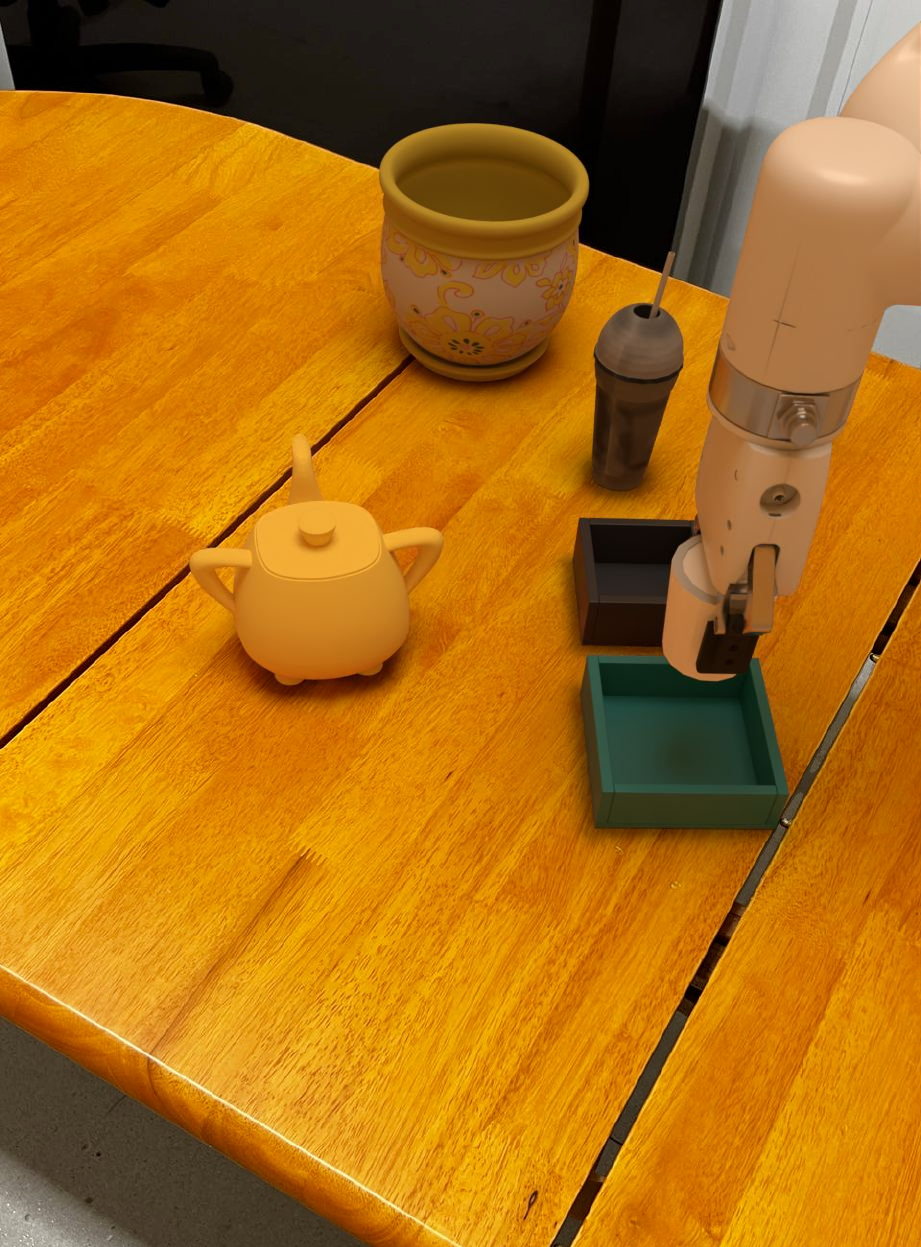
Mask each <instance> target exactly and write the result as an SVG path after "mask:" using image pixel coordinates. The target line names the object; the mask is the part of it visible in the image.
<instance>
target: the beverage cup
mask: <svg viewBox="0 0 921 1247" xmlns="http://www.w3.org/2000/svg"><path fill="white" fill-rule="evenodd" d="M675 257H676V253H675V252H674V251H669V252H668V253H667V256H666V260H665V263H664V267H663V270H662V273H661V276H660V280H659V283H658V286H657V290H656V293H655V297H654V301H653V303H650V302H635V303H631V304H628V305H626V306H624V307H622V308H620V309H619V310H617V311H616V312H614V313H613V314H612V315H611V317H609V319H608V320H607V321H606V322H605V323H604V326H603V327H602V328H601V330H600V333H599V335H598V338H597V341H596V343H595V346H594V348H593V354H592V356H593V359H594V365H593V366H594V379H595V383H596V384H595V396H594V411H593V412H594V413H593V428H592V429H593V430H592V446H591V476H592V478H593V480H594V481H595V483H596V484H598V485H599V486H601V487H603V488H605V489H608V490H611V491H616V492H626V491H627V492H628V491H630V490H633V489H635V488H637V487H639V486H640V485H641V483H642V482H643V478H644V475H645V472H646V471H647V468H648V467H649V463H650V460H651V458H652V455H653V454H652V453H653V450H654V447H655V444H656V441H657V437H658V434H659V431H660V428H661V425H662V421H663V418H664V415H665V412H666V409H667V405H668V402H669V399H670V395H671V394H672V393H671V392H672V391H673V390H674V388H675V385H676V383H677V382H678V379H679V376H680V372H681V371H682V370H683V369H684V360H685V358H684V350H685V349H684V348H685V347H684V346H685V345H684V338H683V333H682V332H681V329H680V327H679V324H678V322H677V321H676V319H675V317H673V316H672V314H670V313H669V312H668V311H667V310H666V309H664V308H663V307H661V302H662V299H663V295H664V292H665V289H666V285H667V282H668V279H669V276H670V273H671V269H672V267H673V262H674V259H675Z"/></svg>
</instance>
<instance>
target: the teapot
mask: <svg viewBox="0 0 921 1247" xmlns="http://www.w3.org/2000/svg"><path fill="white" fill-rule="evenodd" d="M291 458H292V459H291V460H292V471H291V472H292V473H291V482H290V488H289V493H288V498H287V504H286V505H285V506H281V507H278V508H275V509H273V510H271V511H269V512H267V513H264V514H263V515H262V516H261V517H260V518H258V520H257V521H256V522H255V523H254V525H253V526H252V528H251V530H250V532H249V534H248V536H247V537H246V539H245V541H244V544H243V546H242V547H241V548H235V547H209V548H208V547H206V548H203V549H199V550H196V551H195V552H193V554H192V555H191V556H190V558H189V563H188V565H189V569H190V572H191V574H192V577H193V578H194V580H195V582H196V583H197V584H198V585H199V587H200V588H201V589H202V590H203V591H204V592H206V593H207V595H209V596H210V597H211V598H212V599H213V600H214V601H216V602H217V603H218V604H219V605H221V606H222V607H223V608H224V609H226V610H227V611H228V612H230V614H232V615H233V616H232V617H233V622H234V626H235V630H236V633H237V636H238V639H239V640H240V643H241V645H242V647H243V649H244V650H245V652H246V654H248V656H249V657H250V658H251V660H252V661H254V662H255V663H257V664H258V665H259V666H260V667H262V668H264V669H266V670H267V671H269V672H270V673H272V674H274V678H275V680H276V681H277V682H278V683H279V684H282V685H284V686H295V685H299V684H301V683H302V682H303V681H304V680H331V679H338V678H339V679H340V678H344V677H348V676H353V675H356V674H358V675H360V676H369V677H370V676H373V675H376V674H378V673H379V672H381V671H382V669H383V666H384V662H385V661H387V660H388V659H390V658H391V657H392V656H393V655H394V654H396V653H397V651H398V650H399V649H400V648H401V647H402V646H403V644H405V641H406V640H407V638H408V635H409V631H410V627H411V626H410V624H411V610H410V599H409V595H411V593H412V592H413V590H415V588H416V587H417V586H418V585H419V584H421V582H422V581H423V580H424V579H425V577H427V575H428V574H429V573H430V572H431V571H432V570H433V568H434V566H435V565H436V564H437V563H438V561H439V559H440V556H441V555H442V552H443V548H444V543H445V542H444V541H445V539H444V536H443V534H442V532H441V531H439V530H438V529H437V528H434V527H429V526H418V527H411V528H410V527H409V528H405V529H400V530H395V531H392V532H388V533H384V531H383V530H382V528H381V526H380V525H379V523H378V522H377V520H376V519H375V518H374V517H373V515H372V514H371V513H370V512H369V511H368V510H367V509H365V508H364V507H362V506H360V505H357V504H355V503H351V502H345V501H336V500H324V498H323V495H322V493H321V490H320V486H319V484H318V481H317V477H316V473H315V468H314V464H313V457H312V450H311V446H310V443H309V440H308V439H307V437H306V436H305V434H302V433H298V434H295V435H294V437H293V438H292V442H291ZM409 548H418V549H419V550H418V552H417V555H416V557H415V558H414V560H413V563H411V565H410V567H409V568H408V570H407V571H406V573H405V574H404V572H403V570H402V566H401V564H400V562H399V559H398V557H397V554H396V552H395V551H399V550H404V549H409ZM221 568H235V570H234V575H233V576H234V577H233V583H232V584H233V585H232V591H231V590H230V589H229V587H227V586H226V585H225V584H224V583H223V581H222V580H221V578H220V577H219V575H218V573H217V571H216V569H221Z"/></svg>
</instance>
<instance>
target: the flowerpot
mask: <svg viewBox="0 0 921 1247" xmlns="http://www.w3.org/2000/svg"><path fill="white" fill-rule="evenodd" d="M378 181H379V186H380V188H381V189H380V190H381V191H382V193H383V196H382V209H383V212H384V215H383V221H382V228H381V236H380V274H381V280H382V281H381V282H382V285H383V290H384V293H385V298H386V300H387V302H388V304H389V307H390V309H391V311H392V314H393V315H394V317H395V319H396V320H397V322H398V334H399V337H400V340H401V342H402V344H403V346H404V347H405V349H406V350H407V351H408V352H409V353H410V354H411V355H412V356H413V357H414V358H415V359H416V360H417V361H418V363H420V364H421V365H422V366H423V367H425V368H426V369H428V370H430V371H432V372H433V373H435V374H437V375H440V376H443V377H446V378H448V379H453V380H457V381H463V382H471V383H472V382H473V383H474V382H478V383H483V382H493V381H494V382H496V381H500V380H504V379H508V378H512V377H513V376H515V375H518V374H520V373H521V372H523V371H525V370H526V369H528V368H529V367H530V366H532V364H534V363H535V362H536V361H538V360H539V359H540V358H541V357H542V356H543V355H544V354H545V352H546V351H547V348H548V347H549V343H550V338H551V335H550V334H551V333H552V332H553V330H554V329H555V328H556V327H557V325H558V324H559V322H560V321H561V319H562V317H563V316H564V314H565V312H566V311H567V308H568V305H569V303H570V300H571V298H572V295H573V291H574V288H575V283H576V278H577V272H578V263H579V249H580V239H579V235H580V234H579V226H580V224H581V222H582V216H583V207H584V205H585V204H586V201H587V200H588V196H589V191H590V180H589V174H588V172H587V169H586V168H585V165H584V164H583V163H582V161H581V160H580V159H579V158H578V157H577V156H576V155H575V154H574V153H573V152H571V150H569V149H568V148H566V147H565V146H563V145H562V144H561V143H558V142H557V141H555V140H553V139H550V138H549V137H546V136H544V135H541V134H538V133H536V132H533V131H530V130H526V129H522V128H518V127H514V126H508V125H503V124H501V125H500V124H492V123H478V122H477V123H475V122H474V123H470V122H469V123H453V124H445V125H439V126H434V127H430V128H426V129H422V130H420V131H417V132H415V133H412V134H410V135H407V136H406V137H404V138H402V139H401V140H399V141H397V142H396V143H394V145H393V146H391V147H390V149H388V150H387V151H386V153H385V154H384V156H383V158H382V159H381V161H380V165H379V170H378Z"/></svg>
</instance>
